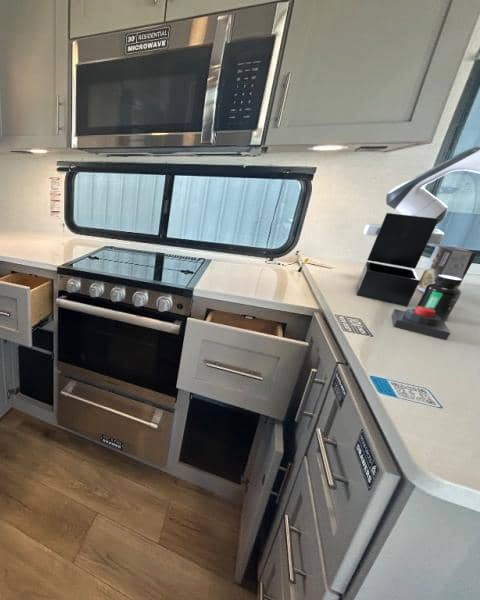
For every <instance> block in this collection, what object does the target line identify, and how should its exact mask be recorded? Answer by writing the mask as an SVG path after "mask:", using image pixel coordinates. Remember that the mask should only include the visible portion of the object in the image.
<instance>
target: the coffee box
mask: <svg viewBox="0 0 480 600" xmlns="http://www.w3.org/2000/svg"><path fill="white" fill-rule="evenodd" d="M477 254H478V252H475V251H471V250H468V249H466V248H461V247H456V246H446V245H445V246H443V245H436V246H435V248H434V250H433V252H432V254H431V256H430V258H429V260H428V262H427V265H426V267H425V269H424V271H423V272H422V275H421V277H420V278H419V280H420V282H419V284H418V286H417V288H416V290H418V291H420V292H422V293H424V291H425V289H426V287H427V286H428V285H429V284H432V283H435V282H436V281H435V279H436V278H437V276H438V275H448V276H453V277H457V278H460V279H462V281H463V280H464V279H465V277H466V274H467V273H468V271H469V269H470V268H471V265H472V264H473V262H474V260H475V258H476V256H477ZM458 289H460V286H458Z"/></svg>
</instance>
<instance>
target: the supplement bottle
mask: <svg viewBox="0 0 480 600" xmlns="http://www.w3.org/2000/svg"><path fill="white" fill-rule="evenodd" d="M435 281H436V282H435V283H432V284H429V285H428V286H427V287H426V289H425V291H424V292H422V295H421V296H420V297H421V298H420V299H419V301H418V303H417V305H416V306H415V309H416V308H417V306H421V307H427V308H430V309H433V310H435V311H436V312H435V314H436V315H438V316H440V318H441V320H444V321H447V320H448V318H449V316H450V315H451V313H452V311H453V309H454V308H455V305H456V304H457V302H458V301H459V299H460V297H461V295H462V290H461V289H460V288H458V286H459V287H460V286H461V283H463V280H462V279H460V278H457V277H453V276H448V275H438V276H437V278H436V279H435Z"/></svg>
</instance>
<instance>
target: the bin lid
mask: <svg viewBox="0 0 480 600" xmlns="http://www.w3.org/2000/svg"><path fill="white" fill-rule="evenodd" d="M438 220H439V218H429V217H420V216H411V215H402V214H400V213H391V212H386V213H385V215H384V217H383V221H382V223H381V224H382V225H381V228H380V230H379V233H378V235H377V236H375V237H376V238H375V239H374V242H373V245H372V247H371V250H370V252H369V255H368V257H367V259H366V261H367V262H373V263H378V264H384V265H390V266H396V267H401V268H407V269H413V270H415V269H416V268H417V266H418V264H419V262H420V260H421V258H422V255H423V253H424V251H425V250H426V247H427V246H428V245H427V243H428V241H429V239H430V237H431V235H432V233H433V230H434V228H435V226H436V227H437V225H438V224H437V222H438ZM436 224H437V225H436Z"/></svg>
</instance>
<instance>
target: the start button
mask: <svg viewBox="0 0 480 600" xmlns="http://www.w3.org/2000/svg"><path fill="white" fill-rule="evenodd" d="M416 307H417V308H416ZM416 307H415V308H414V309H415V311H414V313H416V314H418V315H421V316H425V317H433V316H434V314H435V312H436V311H435V310H433V309H430V308H427V307H421V306H417V305H416Z"/></svg>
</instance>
